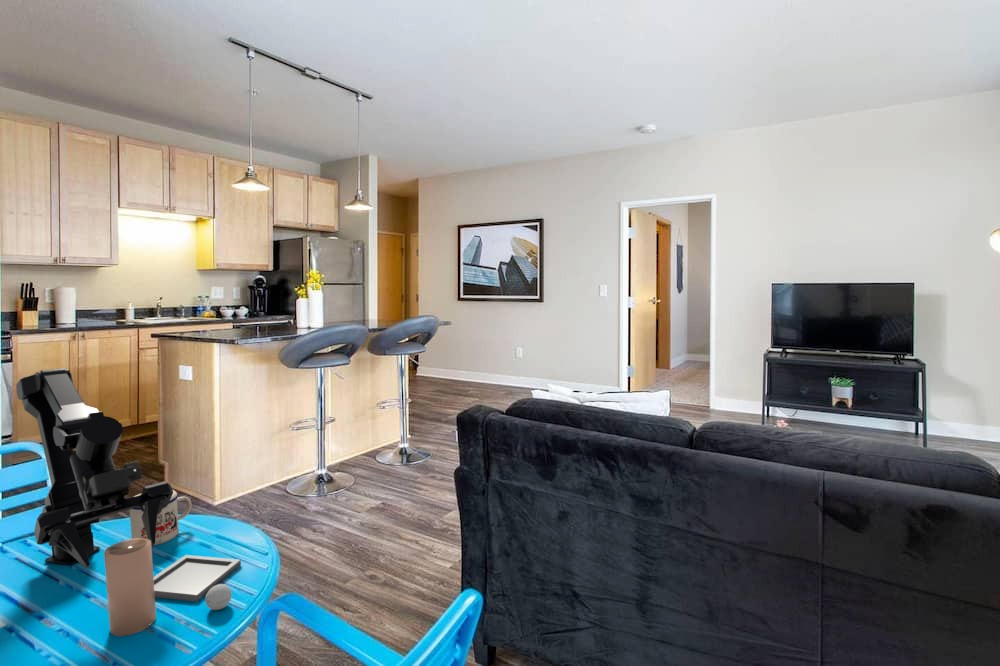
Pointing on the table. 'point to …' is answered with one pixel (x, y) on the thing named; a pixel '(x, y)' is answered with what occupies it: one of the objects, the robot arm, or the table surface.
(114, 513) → the robot arm
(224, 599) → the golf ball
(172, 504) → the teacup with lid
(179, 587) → the charcoal tray
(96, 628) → the table surface
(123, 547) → the terracotta cup
